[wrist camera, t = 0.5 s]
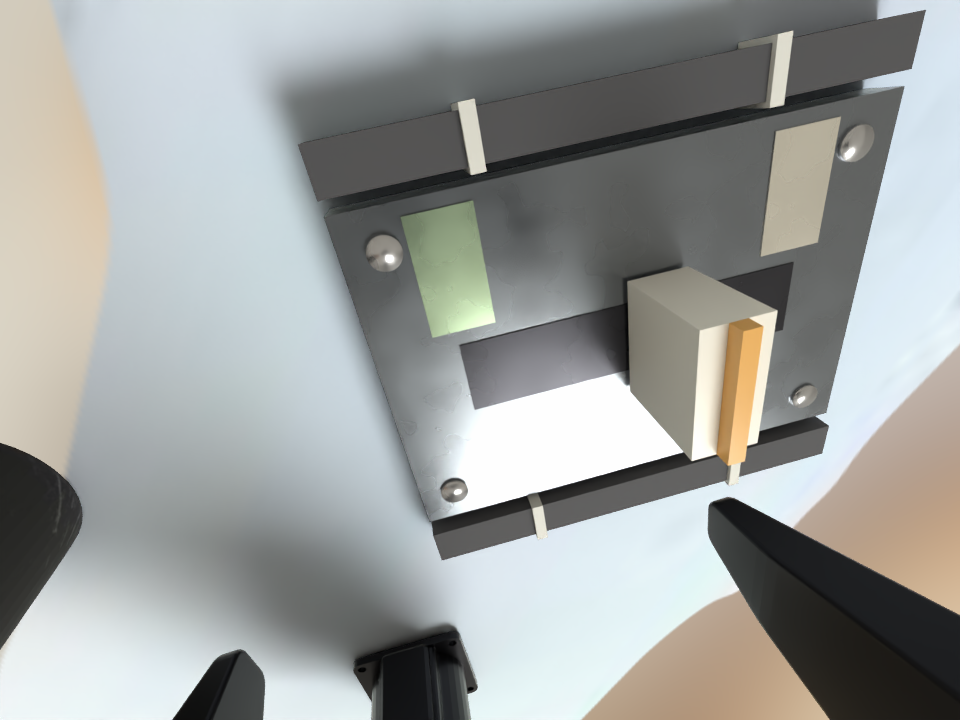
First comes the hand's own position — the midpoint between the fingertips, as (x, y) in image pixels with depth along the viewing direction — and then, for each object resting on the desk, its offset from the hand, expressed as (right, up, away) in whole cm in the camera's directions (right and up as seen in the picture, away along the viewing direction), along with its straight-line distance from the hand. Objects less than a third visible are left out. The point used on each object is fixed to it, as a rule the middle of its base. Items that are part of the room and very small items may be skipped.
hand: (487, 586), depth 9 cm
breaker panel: (+6, +6, +11) cm, 14 cm away
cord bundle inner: (+7, -1, +15) cm, 17 cm away
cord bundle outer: (+4, +13, +7) cm, 15 cm away
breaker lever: (+7, +5, +10) cm, 13 cm away
